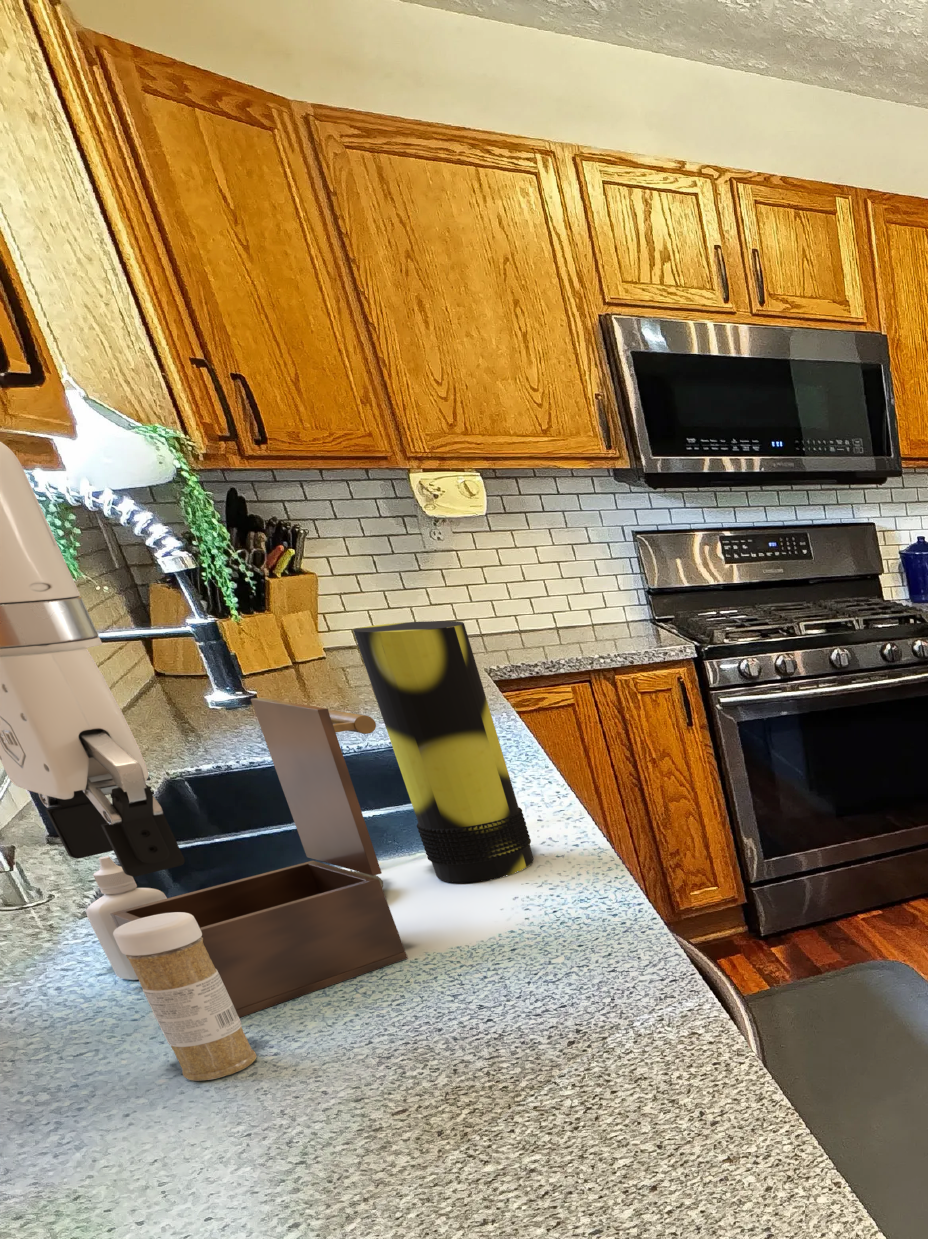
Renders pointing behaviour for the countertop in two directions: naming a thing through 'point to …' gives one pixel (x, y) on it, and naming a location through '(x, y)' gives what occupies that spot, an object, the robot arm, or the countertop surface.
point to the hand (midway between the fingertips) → (127, 861)
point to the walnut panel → (319, 780)
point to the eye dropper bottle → (116, 898)
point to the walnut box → (288, 931)
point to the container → (446, 748)
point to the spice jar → (186, 994)
